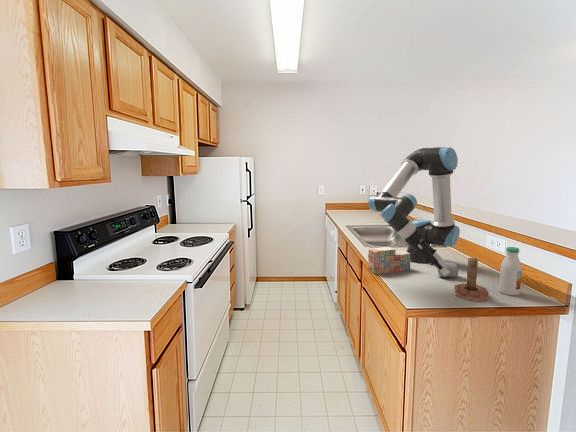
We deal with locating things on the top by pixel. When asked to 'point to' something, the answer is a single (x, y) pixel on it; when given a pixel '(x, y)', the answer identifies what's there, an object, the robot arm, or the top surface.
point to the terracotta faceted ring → (471, 293)
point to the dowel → (471, 274)
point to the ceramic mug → (452, 268)
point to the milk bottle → (510, 273)
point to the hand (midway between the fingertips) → (445, 269)
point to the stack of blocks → (388, 260)
